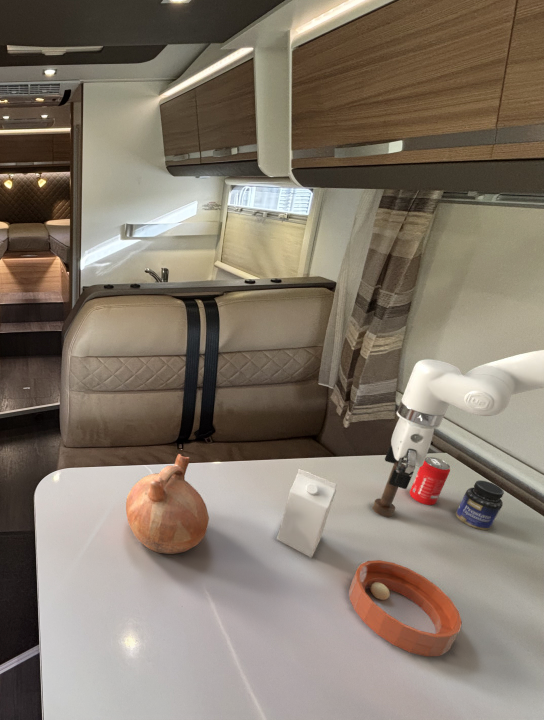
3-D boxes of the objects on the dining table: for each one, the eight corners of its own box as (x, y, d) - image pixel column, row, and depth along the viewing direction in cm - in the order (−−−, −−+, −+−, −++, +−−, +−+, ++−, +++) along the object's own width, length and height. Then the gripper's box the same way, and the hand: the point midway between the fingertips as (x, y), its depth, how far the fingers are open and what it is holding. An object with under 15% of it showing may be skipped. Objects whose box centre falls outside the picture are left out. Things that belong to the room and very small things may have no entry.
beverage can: (416, 506, 108) (432, 468, 104) (403, 492, 113) (418, 455, 108) (439, 509, 107) (457, 470, 103) (425, 494, 112) (441, 457, 107)
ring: (440, 605, 84) (451, 584, 82) (457, 677, 72) (471, 655, 70) (347, 568, 92) (354, 548, 90) (349, 628, 80) (358, 607, 78)
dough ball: (386, 594, 86) (390, 583, 85) (387, 606, 83) (392, 595, 82) (367, 586, 87) (372, 576, 86) (368, 598, 85) (373, 587, 84)
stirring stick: (390, 511, 107) (410, 463, 101) (392, 522, 103) (412, 472, 98) (370, 505, 109) (388, 457, 103) (372, 515, 106) (390, 466, 100)
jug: (175, 585, 89) (187, 511, 81) (107, 533, 101) (112, 465, 94) (217, 537, 100) (232, 468, 92) (152, 495, 113) (160, 432, 105)
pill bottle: (454, 523, 103) (471, 487, 99) (454, 509, 107) (470, 474, 103) (490, 537, 99) (509, 500, 95) (488, 522, 103) (507, 486, 99)
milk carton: (285, 524, 103) (303, 461, 96) (319, 541, 98) (340, 476, 91) (275, 541, 99) (293, 476, 91) (310, 560, 94) (332, 493, 87)
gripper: (450, 438, 87) (420, 503, 93) (434, 401, 100) (409, 459, 107) (403, 426, 90) (378, 489, 97) (394, 392, 104) (372, 449, 110)
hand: (394, 473), depth 102 cm, fingers open, 9 cm apart
